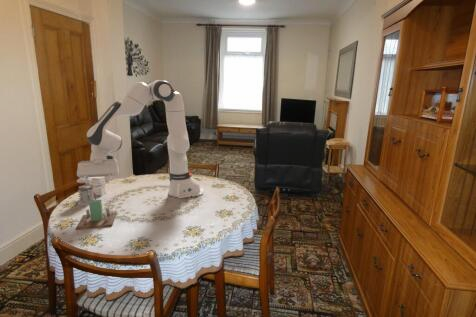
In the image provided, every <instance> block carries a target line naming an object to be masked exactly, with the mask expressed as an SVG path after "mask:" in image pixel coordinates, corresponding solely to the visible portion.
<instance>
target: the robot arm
mask: <svg viewBox="0 0 476 317" xmlns="http://www.w3.org/2000/svg"><path fill="white" fill-rule="evenodd" d="M151 99H153V100H157V101H163V103H164V106H165V107H164V108H165V117H166V125H167V130H168V135H167V137H166V143H167V152H168V159H169V172H168V178H169V188H168V192H167V194H168V195H169V196H171V197H175V198H177V199H185V198H191V196H192V197H197V196H202V195H204V193H203V192H204V189H203V187H201V186H200V183H199V181H198V180H197V179H195V178H194V177H193V174H192V172H191V171H189V170H188V169H189V168H188V157H187V152H188V151H189V149H190V141H189V140H190V138H189V133H188V130H187V129H188V128H187V124H186V123H187V122H186V114H185V103H184V99H183V96H182V94H181V93H180V92H178V91H175V90H174V88H173V86H172V85H171V83H170V82H168V81H167V80H164V79H163V80H162V79H161V80H160V79H156V80H152V81H150V82H148V83H145V82H143V81H137V82H135V83H134V84H133V85H132V86H131V88H130V89H129V90H128V92H127V93H126V95H125V96H124V98H122V99H121V100H120V101H119V100H118V101H115V102H113V103H112V104H111V105H110V106H109V107H108V108H107V109H106V111H105V112H104V113H103V114H102V116H101V117H100V118H99V119H98V120H97V121H96V122H95V123H93V125H92V126H90V127H89V129H88V130H87V131H86V135H85V136H86V140H87V142H88V143H89V144H90V146H91V147H90V148H91V149H90V150H91V153H90V159H89V160H81V161H80V162H78V163H77V170H76V176H77V177H78V179H80V178H85V180H86V183H85V185H88V184H90V181H89V180H87V179H88V177H102V176H104V177H107V178H106V179H105V184H110V180H111V179H112V178H113V177H114V176H115V177H117V176H119V175H120V169H119V168H120V167H119V165H118V164H119V163H118V160H117V157H116V156H113V155H109V154H111V153H112V154H113V153H115V152H118V151H119V150H120V149H121V148H122V145H123V138H122V137H121V136H120V135H118V134H116V133H114V132H113V131H110V130H107V129H106V128H107V127H108V126H109V125H110V123H112V121H113V120H114V119H115V118H116V117H118V116H126V117H134V116H138V115H139V114H141V112H143V110H144V108H145V106H146V104H147V103H148V102H149V100H151Z"/></svg>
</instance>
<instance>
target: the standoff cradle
mask: <svg viewBox="0 0 476 317" xmlns="http://www.w3.org/2000/svg"><path fill="white" fill-rule="evenodd" d="M105 210H106V211H105V213H104V212H103V219H102V220H101V221H91V215H90V208H89V209H86V210H85V212H86V214H83V215H82V216H81V218H80V220H79V221H78V224H77V225H76V227H75V229H76V231H77V230H88V229H96V228H97V229H98V228H108V227H113V224H114V222H115V219H116V216H117V211H115V212H110V207H106V208H105Z"/></svg>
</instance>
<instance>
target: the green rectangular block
mask: <svg viewBox="0 0 476 317" xmlns="http://www.w3.org/2000/svg"><path fill="white" fill-rule="evenodd" d="M102 202H103V201H102V199H95V200H90V202H89V205H88V207H89V211H90V215H91V221H101V220H102V219H103V213H104V211H103V204H102Z"/></svg>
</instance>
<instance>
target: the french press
mask: <svg viewBox="0 0 476 317" xmlns="http://www.w3.org/2000/svg"><path fill="white" fill-rule="evenodd" d="M87 180H89V181H92V178H90V177H88V179H87ZM76 182H77V183H78V184H82V185H80V186H78V190H77V191H78V199H79V202H77V205H78V206H82V207H84V206H89V202H90V200H96V199H95V195H94V193H93V192H94V191H93V187H92V185H86V180H85V178H78V179H77V180H76ZM89 190H90V191H89Z"/></svg>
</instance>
